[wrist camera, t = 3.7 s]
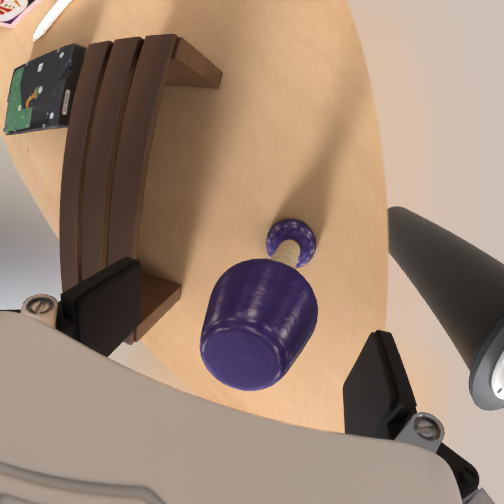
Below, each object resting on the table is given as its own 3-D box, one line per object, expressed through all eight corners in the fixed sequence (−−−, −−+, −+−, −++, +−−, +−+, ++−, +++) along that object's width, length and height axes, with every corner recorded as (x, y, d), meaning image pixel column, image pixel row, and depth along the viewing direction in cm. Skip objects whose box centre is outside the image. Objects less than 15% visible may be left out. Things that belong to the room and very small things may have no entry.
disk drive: (90, 46, 22) (25, 70, 25) (74, 41, 20) (12, 68, 22) (74, 127, 26) (15, 136, 28) (57, 126, 23) (1, 137, 25)
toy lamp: (251, 237, 25) (151, 349, 9) (290, 199, 23) (237, 268, 8) (290, 276, 25) (247, 429, 10) (330, 241, 24) (349, 375, 8)
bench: (223, 72, 21) (177, 33, 13) (180, 298, 28) (133, 346, 20) (147, 69, 22) (86, 44, 14) (117, 275, 29) (62, 309, 21)
